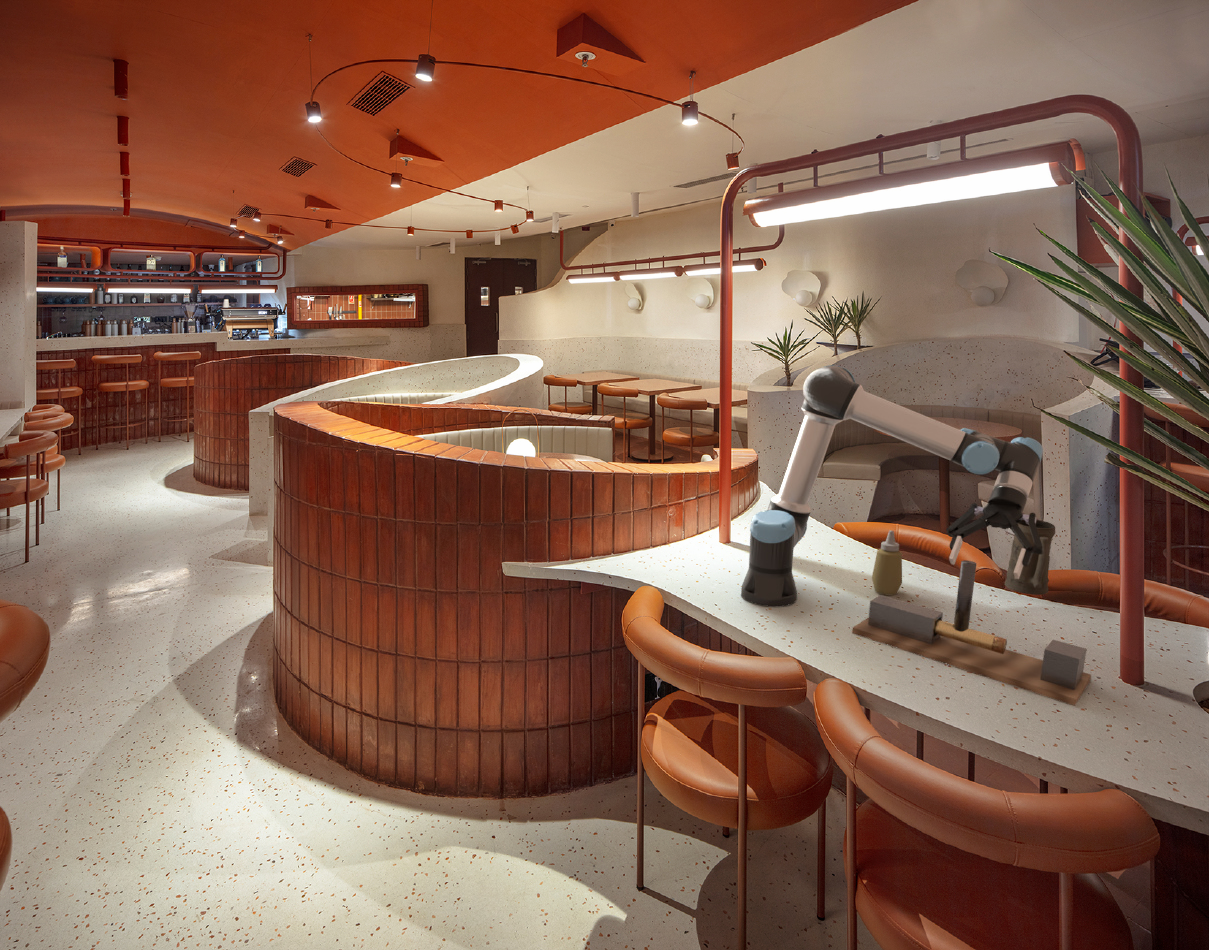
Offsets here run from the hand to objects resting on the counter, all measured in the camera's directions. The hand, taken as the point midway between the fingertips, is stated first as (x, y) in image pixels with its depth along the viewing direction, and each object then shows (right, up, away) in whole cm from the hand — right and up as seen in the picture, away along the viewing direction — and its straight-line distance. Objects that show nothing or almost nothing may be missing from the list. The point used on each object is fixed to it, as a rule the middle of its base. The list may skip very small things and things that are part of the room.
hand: (982, 568), depth 156 cm
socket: (+8, -21, -15) cm, 27 cm away
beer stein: (+35, -12, +37) cm, 52 cm away
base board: (-6, -20, -2) cm, 20 cm away
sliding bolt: (-9, -16, +2) cm, 18 cm away
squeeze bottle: (-7, -12, +37) cm, 39 cm away
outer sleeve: (-15, -16, +8) cm, 23 cm away
